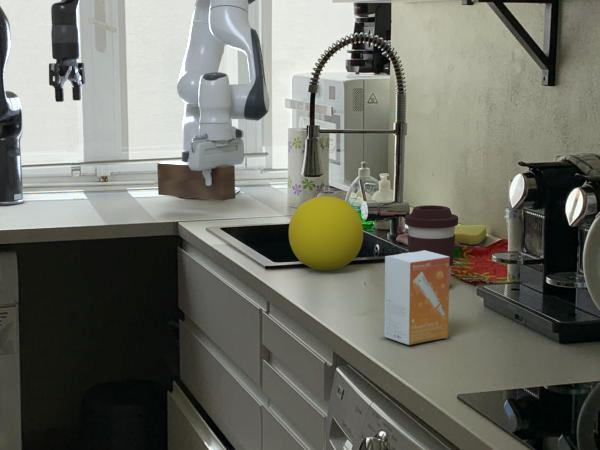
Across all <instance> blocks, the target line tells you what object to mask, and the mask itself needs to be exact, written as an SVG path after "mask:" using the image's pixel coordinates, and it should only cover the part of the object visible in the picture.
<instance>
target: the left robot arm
mask: <svg viewBox="0 0 600 450" xmlns="http://www.w3.org/2000/svg"><path fill="white" fill-rule="evenodd" d="M79 3H80V0H60V1H58V2H57V1H56V2H54V3H52V4H51V7H50V15H51V16H50V17H51V31H50V37H51V38H50V39H51V56H52V59H53V60H56V61H55V62H54V63H53V62H50V63H48V84H49V86H51V87H53V88H54V99H55V102H56V103H62V102H64V101H65V95H64V94H65V93H64V86H65V85H64V84H65V83H66V82H67V81H69V82H70V84H71V85H72V87H71V89H72V90H71V91H72V92H71V93H72V94H71V95H72V100H73V101H81V99H82V92H81V91H82V90H81V87H82V86H83V85H85V84H86V72H85V63H84V62H78V60H79V59H81V43H80V42H81V39H80V29H79V15H78V8H79V5H80V4H79ZM10 24H11V23H10V21H9V18H8V15H6V12H5V11H4V9H3V8H2V6H1V5H0V206H11V205H21V204H23V203H24V202H25V201H24V199H25V198H24V187H23V170H22V169H23V168H22V167H23V166H22V151H21V139H22V135H23V105H22V101H21V99H20V97H19V95H17V94H16V93H14V92H13V91H10V90H6V86H5V72H6V67H7V63H8V60H9V56H10V53H11V48H12V35H11V25H10Z"/></svg>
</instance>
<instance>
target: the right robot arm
mask: <svg viewBox="0 0 600 450" xmlns="http://www.w3.org/2000/svg"><path fill="white" fill-rule="evenodd" d="M254 2H256V0H196V1H195V4H194V7H193V12H192V17H191V23H190V28H189V35H188V42H187V47H186V51H185V54H184V57H183V61H182V65H181V69H180V73H179V78H178V81H177V83H176V91H177V95H178V96H179V98H180V99H181V100H182V101H183V102H184V112H183V113H184V115H183V120H182V150H181V162H189V168H190V169H191V170H194V171H201V170H202V174H203V176H204V178H205V181H206V185H207V186H211V185H214V179H212V177H211V175H210V173H211V169H213V168H216V167H219V166H225V165H234V166H238V165H242V164H243V163H244V160H245V145H244V140H243V138H244V137H245V133H244V130H243V129H240V128H239V127H236V126H233V120H246V121H257V122H258V121H260V120H261V119H263V118H264V117H265V116H266V115H267V114H268V113H269V110H270V97H269V92H268V90H267V89H268V87H267V83H266V76H265V67H264V58H263V53H262V52H263V51H262V46H261V41H260V37H259V34H258V32H257V31H256V29H254V28H252V27H251V25H250V22H249V5H251V4H253V3H254ZM225 46H227V47H229V48H234V49H236V50H238V51H240V52H242V53H244V54H245V56H246V60H247V68H248V76H249V81H248V82H247V83H243V84H240V83H239V84H237V83H236V84H234V83H233V84H232V83H231V84H230V80H229V75H228V74H227V73H225V72H219V69H220V65H221V62H222V58H223V56H224V52H225ZM239 192H240V187H237V186H235V194H237V193H239ZM184 198H185V199H186V198H187V199H189V198H188V197H184Z"/></svg>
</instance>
